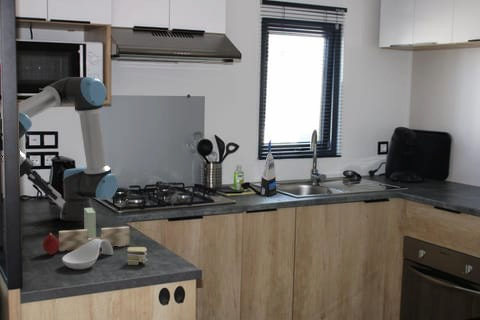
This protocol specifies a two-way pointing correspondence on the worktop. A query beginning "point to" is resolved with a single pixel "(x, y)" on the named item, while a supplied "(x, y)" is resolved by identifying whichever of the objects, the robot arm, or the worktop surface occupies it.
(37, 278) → the worktop surface
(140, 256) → the pale yellow layered block
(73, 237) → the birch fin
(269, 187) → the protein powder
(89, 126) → the robot arm
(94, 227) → the notched piece
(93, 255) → the spoon rest
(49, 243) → the onion
